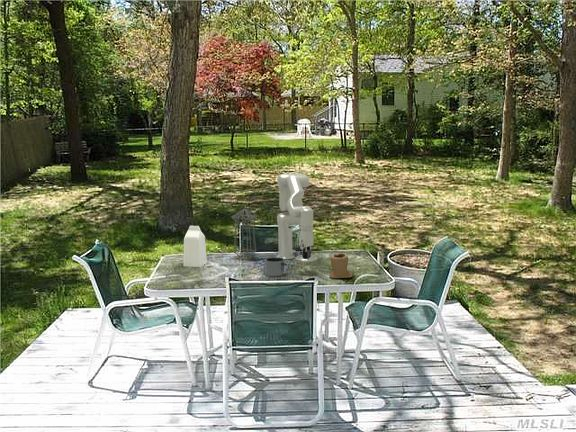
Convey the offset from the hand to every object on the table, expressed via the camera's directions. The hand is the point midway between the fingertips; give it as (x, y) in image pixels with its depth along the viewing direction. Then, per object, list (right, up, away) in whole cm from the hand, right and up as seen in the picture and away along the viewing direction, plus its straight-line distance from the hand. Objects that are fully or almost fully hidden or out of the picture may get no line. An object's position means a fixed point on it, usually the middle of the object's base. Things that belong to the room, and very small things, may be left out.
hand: (306, 257), depth 343 cm
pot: (-20, -10, 0) cm, 22 cm away
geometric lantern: (-41, -4, +43) cm, 59 cm away
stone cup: (+21, -12, -10) cm, 26 cm away
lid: (0, -2, 0) cm, 2 cm away
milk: (-73, -7, +25) cm, 77 cm away
